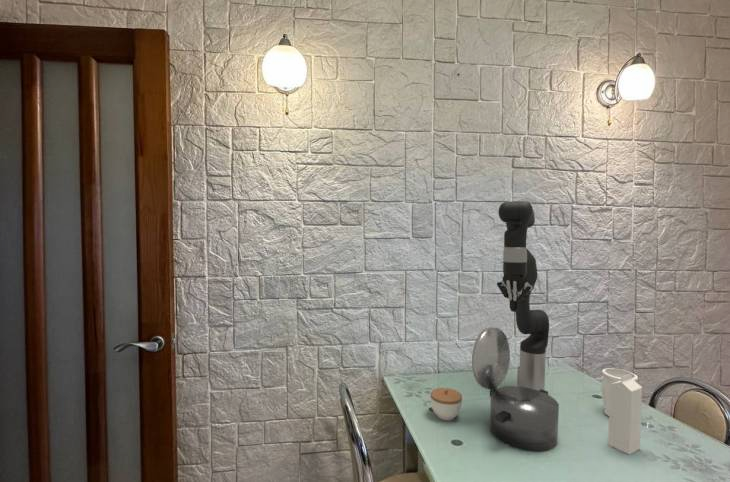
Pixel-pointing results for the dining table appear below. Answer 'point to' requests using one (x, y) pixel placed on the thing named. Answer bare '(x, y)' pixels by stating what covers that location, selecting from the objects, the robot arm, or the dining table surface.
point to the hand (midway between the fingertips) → (514, 311)
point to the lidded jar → (446, 403)
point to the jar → (611, 377)
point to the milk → (625, 415)
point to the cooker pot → (524, 418)
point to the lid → (491, 358)
